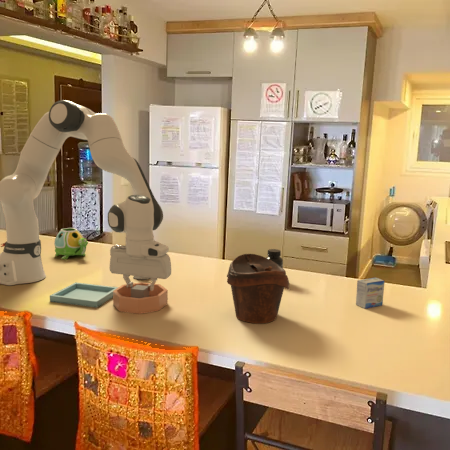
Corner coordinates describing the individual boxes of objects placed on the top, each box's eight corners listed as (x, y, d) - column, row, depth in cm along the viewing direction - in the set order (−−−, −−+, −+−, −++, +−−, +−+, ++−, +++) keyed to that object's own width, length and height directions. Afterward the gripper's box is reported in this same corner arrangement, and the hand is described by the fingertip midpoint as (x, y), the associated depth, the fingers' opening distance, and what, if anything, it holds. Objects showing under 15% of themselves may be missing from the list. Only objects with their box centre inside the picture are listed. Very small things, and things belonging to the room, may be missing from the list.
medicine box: (364, 309, 160) (366, 283, 159) (355, 304, 164) (357, 279, 163) (382, 305, 164) (385, 280, 162) (373, 301, 168) (375, 276, 166)
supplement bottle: (274, 285, 183) (276, 253, 181) (260, 281, 187) (261, 250, 185) (285, 281, 188) (287, 250, 186) (271, 277, 192) (272, 247, 190)
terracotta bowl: (105, 309, 155) (105, 295, 154) (129, 293, 170) (129, 280, 169) (153, 315, 151) (153, 301, 150) (172, 299, 166) (172, 285, 165)
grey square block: (131, 303, 159) (130, 288, 158) (137, 299, 163) (137, 284, 162) (143, 305, 158) (143, 290, 157) (149, 300, 162) (149, 286, 161)
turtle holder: (73, 263, 207) (72, 235, 204) (48, 255, 218) (47, 229, 215) (97, 257, 216) (97, 230, 214) (73, 250, 227) (72, 225, 225)
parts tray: (49, 301, 161) (49, 295, 161) (75, 287, 175) (75, 282, 175) (96, 307, 156) (96, 301, 156) (119, 293, 171) (119, 287, 170)
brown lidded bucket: (273, 333, 139) (275, 271, 136) (213, 318, 150) (214, 260, 147) (298, 315, 154) (301, 259, 151) (243, 302, 165) (244, 250, 162)
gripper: (105, 246, 157) (106, 288, 159) (165, 252, 151) (165, 295, 154) (115, 242, 163) (115, 282, 165) (173, 247, 157) (173, 289, 160)
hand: (140, 288), depth 160 cm, fingers open, 6 cm apart
